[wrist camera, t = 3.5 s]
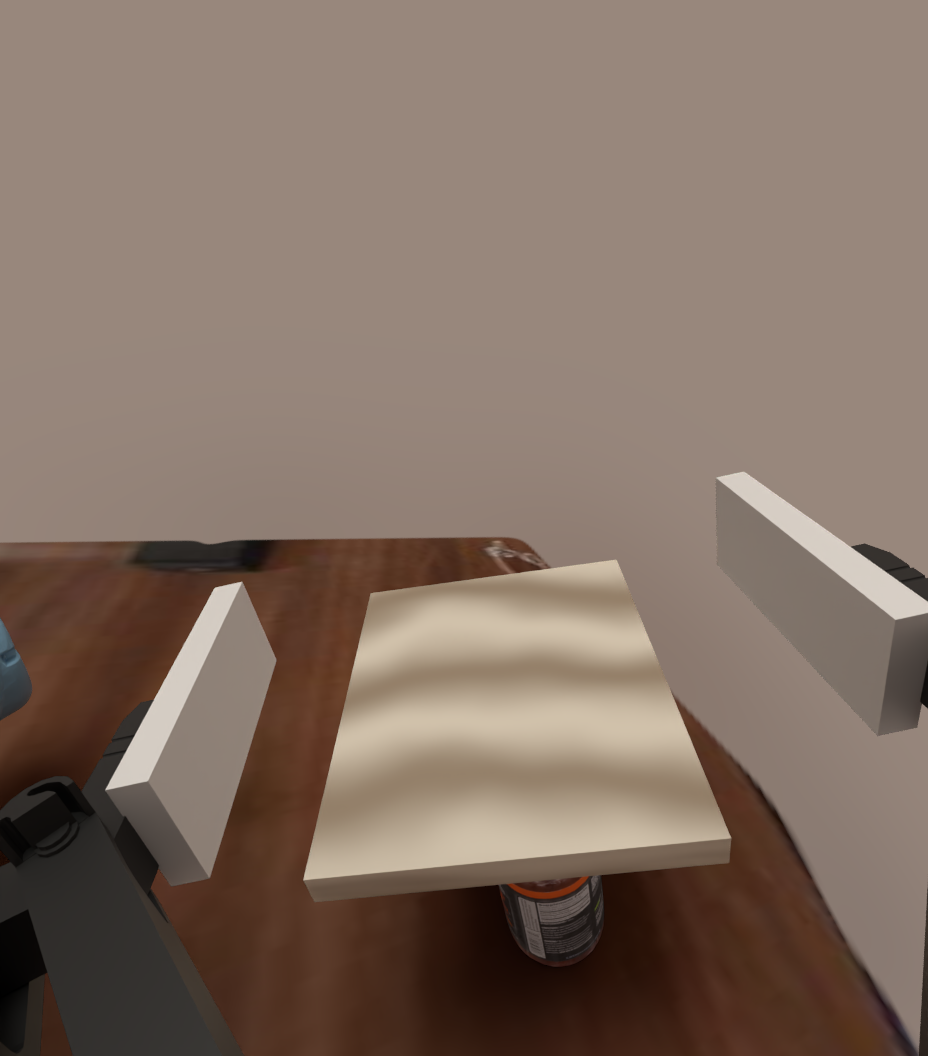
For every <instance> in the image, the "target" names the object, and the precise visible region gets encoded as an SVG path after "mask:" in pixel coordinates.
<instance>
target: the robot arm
mask: <svg viewBox="0 0 928 1056" xmlns="http://www.w3.org/2000/svg"><path fill="white" fill-rule="evenodd" d="M716 524H717V525H716V527H717V528H716V529H717V565H718V566H719V567H720V568H721V569H722V570H723V571H724V572H725V574H727V576H728V577H729V578H730V579H731V580H732V581H733V582H734V583H735V584H736V585H737V586H738V587H739V588H740V590H741V591H742V592H743V593H744V594H745V595H746V596H747V597H748V598H749V599H750V600H751V601H752V602H753V603H754V605H756V607H757V608H758V609H759V610H760V611H761V612H762V613H763V614H764V615H765V616H766V617H767V618H768V619H769V621H770V622H771V623H772V624H773V625H774V626H775V627H776V628H777V629H778V630H779V631H780V632H781V633H782V634H783V635H784V637H785V638H786V639H787V640H788V641H789V642H790V643H791V644H792V645H793V646H794V647H795V648H796V649H797V650H798V652H800V654H801V655H802V656H803V657H804V658H805V659H806V660H807V661H808V662H809V663H810V664H811V665H812V666H813V667H814V669H815V670H816V671H817V672H818V673H819V674H820V675H821V676H822V677H823V678H824V679H825V680H826V681H827V683H828V684H829V685H830V686H831V687H832V688H833V689H834V690H835V691H836V692H837V693H838V694H839V695H840V696H841V697H842V698H843V700H844V701H845V702H846V703H847V704H848V705H849V706H850V707H851V708H852V709H853V710H854V711H855V712H856V713H857V714H858V715H859V717H860V718H861V719H862V720H863V721H864V722H865V723H866V724H867V725H868V726H869V727H870V728H871V730H872V731H873V732H874V733H876V735H877V736H880V735H884V734H889V733H893V732H898V731H903V730H908V729H913V728H917V725H918V720H919V715H920V710H921V705H922V704H923V705H925V706H926V707H927V708H928V578H925V575H923V574H922V573H920V572H919V571H917V570H916V569H914V568H910V567H909V565H908V564H907V563H905V562H904V561H902V560H901V559H899V558H897V557H896V556H894V555H893V554H892V553H890V552H887V551H884V550H881V549H878V548H875V547H873V546H870V545H867V544H861V545H856V546H852V547H850V546H848V545H847V544H845V543H844V542H843V541H841V540H840V539H838V538H837V537H836V536H834V535H833V534H831V533H830V532H828V531H827V530H826V529H824V528H823V527H821V526H820V525H818V524H817V523H816V522H814V521H813V520H812V519H810V518H809V517H807V516H806V515H805V514H803V513H802V512H800V511H799V510H797V509H796V508H794V507H793V506H792V505H790V504H789V503H788V502H786V501H785V500H783V499H782V498H780V497H779V496H778V495H776V494H775V493H773V492H772V491H771V490H769V489H768V488H766V487H765V486H763V485H762V484H761V483H759V482H758V481H756V480H755V479H753V478H752V477H751V476H749V475H748V474H747V473H745V472H741V473H736V474H731V475H726V476H722V477H717V478H716ZM275 663H276V658H275V656H274V653H273V651H272V649H271V647H270V644H269V642H268V640H267V637H266V635H265V633H264V630H263V628H262V626H261V624H260V621H259V619H258V617H257V614H256V612H255V610H254V608H253V605H252V603H251V601H250V598H249V596H248V594H247V592H246V589H245V587H244V585H243V582H239V583H235V584H230V585H225V586H221V587H216V588H215V589H214V590H213V592H212V594H211V596H210V598H209V600H208V602H207V603H206V605H205V607H204V609H203V611H202V613H201V614H200V616H199V618H198V620H197V622H196V624H195V625H194V627H193V629H192V631H191V633H190V635H189V637H188V638H187V640H186V642H185V644H184V646H183V648H182V649H181V651H180V653H179V655H178V657H177V659H176V660H175V662H174V664H173V666H172V668H171V670H170V672H169V673H168V675H167V677H166V679H165V681H164V683H163V684H162V686H161V688H160V690H159V692H158V694H157V696H156V697H155V699H154V700H150V701H146V702H141V703H140V704H139V705H138V706H137V707H136V708H135V709H134V710H133V711H132V712H131V713H130V714H129V715H128V716H127V717H126V718H125V719H124V720H123V721H122V723H121V724H120V726H119V728H118V730H117V731H116V733H115V735H114V736H113V738H112V743H109V745H108V747H107V748H106V750H105V752H104V754H103V758H102V759H100V760H99V762H98V764H97V766H96V767H95V769H94V771H93V772H92V774H91V776H90V778H89V779H88V781H87V783H86V784H85V786H84V788H83V790H82V791H80V789H79V788H78V786H77V785H76V784H75V782H74V781H73V780H71V779H70V778H69V777H67V776H55V777H52V778H48V779H45V780H41V781H40V782H38V783H36V784H34V785H32V786H30V787H28V788H26V789H25V790H23V791H22V792H21V793H19V794H18V795H17V796H15V797H14V798H12V799H11V800H10V801H9V802H8V803H7V804H6V805H5V806H4V807H3V808H2V809H1V810H0V850H1V851H2V852H3V854H4V855H5V856H6V857H7V858H8V859H9V861H10V863H8V864H5V865H3V866H1V867H0V1056H40V1049H41V1032H42V1014H43V997H44V980H45V973H48V976H49V979H50V982H51V986H52V989H53V992H54V995H55V999H56V1002H57V1005H58V1009H59V1012H60V1015H61V1018H62V1022H63V1025H64V1028H65V1032H66V1035H67V1038H68V1041H69V1045H70V1048H71V1051H72V1055H73V1056H244V1055H243V1053H242V1051H241V1049H240V1047H239V1046H238V1044H237V1042H236V1040H235V1038H234V1037H233V1035H232V1033H231V1031H230V1029H229V1027H228V1026H227V1024H226V1022H225V1020H224V1018H223V1017H222V1015H221V1013H220V1011H219V1009H218V1007H217V1006H216V1004H215V1002H214V1000H213V998H212V997H211V995H210V993H209V991H208V989H207V987H206V986H205V984H204V982H203V980H202V978H201V977H200V975H199V973H198V971H197V969H196V967H195V966H194V964H193V962H192V960H191V958H190V957H189V955H188V953H187V951H186V949H185V947H184V946H183V944H182V942H181V940H180V938H179V937H178V935H177V933H176V931H175V929H174V927H173V926H172V924H171V922H170V920H169V918H168V917H167V915H166V913H165V911H164V909H163V907H162V906H161V904H160V902H159V900H158V898H157V897H156V895H155V894H154V893H153V891H152V890H151V886H152V883H153V880H154V878H155V875H156V873H157V870H158V868H159V869H160V871H161V872H162V874H163V875H164V877H165V878H166V880H167V881H168V883H169V884H170V885H171V886H176V885H181V884H186V883H190V882H195V881H200V880H204V879H209V878H210V876H211V872H212V869H213V866H214V862H215V859H216V856H217V853H218V849H219V846H220V843H221V840H222V836H223V833H224V830H225V827H226V823H227V820H228V817H229V814H230V810H231V807H232V804H233V800H234V797H235V794H236V791H237V787H238V784H239V781H240V778H241V774H242V771H243V768H244V765H245V761H246V758H247V755H248V751H249V748H250V745H251V742H252V738H253V735H254V732H255V729H256V725H257V722H258V719H259V716H260V712H261V709H262V706H263V703H264V699H265V696H266V693H267V689H268V686H269V683H270V680H271V676H272V673H273V670H274V667H275ZM31 693H32V684H31V680H30V677H29V675H28V672H27V670H26V668H25V665H24V663H23V661H22V659H21V657H20V655H19V654H18V652H17V651H16V650H15V649H14V644H13V642H12V640H11V637H10V635H9V633H8V631H7V629H6V628H5V626H4V624H3V622H2V620H1V618H0V720H2V719H3V718H5V717H7V716H9V715H10V714H12V713H14V712H15V711H17V710H19V709H20V708H22V707H23V706H24V705H25V704H26V703H27V701H28V700H29V698H30V696H31ZM927 891H928V890H927ZM925 931H926V932H925V949H924V968H923V988H922V1007H921V1026H920V1045H919V1056H928V892H927V910H926V929H925Z"/></svg>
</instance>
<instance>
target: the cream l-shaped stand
mask: <svg viewBox="0 0 928 1056" xmlns="http://www.w3.org/2000/svg"><path fill="white" fill-rule="evenodd" d="M730 845H731V837H730V834H729V832H728V830H727V827H726V825H725V822H724V820H723V817H722V815H721V813H720V810H719V808H718V805H717V803H716V800H715V798H714V796H713V793H712V791H711V788H710V786H709V783H708V781H707V779H706V776H705V774H704V771H703V769H702V766H701V764H700V762H699V759H698V757H697V754H696V752H695V749H694V747H693V745H692V742H691V740H690V737H689V735H688V732H687V730H686V728H685V725H684V723H683V720H682V718H681V715H680V713H679V711H678V708H677V706H676V703H675V701H674V698H673V696H672V694H671V691H670V689H669V686H668V684H667V681H666V679H665V677H664V674H663V672H662V669H661V667H660V664H659V662H658V660H657V657H656V655H655V652H654V650H653V647H652V645H651V643H650V640H649V638H648V635H647V633H646V630H645V628H644V626H643V624H642V621H641V619H640V616H639V613H638V611H637V609H636V606H635V604H634V601H633V599H632V596H631V594H630V592H629V589H628V587H627V584H626V582H625V579H624V577H623V575H622V572H621V570H620V567H619V565H618V562H617V560H612V561H603V562H596V563H589V564H582V565H574V566H568V567H560V568H552V569H545V570H538V571H530V572H523V573H516V574H509V575H501V576H494V577H487V578H479V579H472V580H465V581H457V582H450V583H443V584H436V585H428V586H421V587H414V588H406V589H399V590H392V591H385V592H377V593H371V595H370V599H369V603H368V608H367V612H366V616H365V620H364V625H363V629H362V633H361V637H360V642H359V646H358V650H357V654H356V659H355V663H354V667H353V671H352V676H351V680H350V684H349V688H348V693H347V697H346V701H345V705H344V710H343V714H342V718H341V722H340V727H339V731H338V735H337V739H336V744H335V748H334V752H333V756H332V761H331V765H330V769H329V773H328V778H327V782H326V786H325V790H324V795H323V799H322V803H321V807H320V812H319V816H318V820H317V824H316V829H315V833H314V837H313V841H312V846H311V850H310V854H309V858H308V863H307V867H306V871H305V875H304V882H305V884H306V886H307V888H308V890H309V892H310V894H311V896H312V898H313V900H314V902H321V901H332V900H342V899H353V898H364V897H374V896H385V895H395V894H406V893H416V892H427V891H437V890H448V889H459V888H469V887H480V886H490V885H501V884H511V883H522V882H533V881H543V880H554V879H564V878H575V877H585V876H596V875H606V874H617V873H628V872H638V871H649V870H659V869H670V868H680V867H691V866H702V865H712V864H723V863H729V858H730Z"/></svg>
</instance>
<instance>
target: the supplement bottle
mask: <svg viewBox="0 0 928 1056" xmlns="http://www.w3.org/2000/svg"><path fill="white" fill-rule="evenodd" d="M499 889H500V894H501V897H502V902H503V906H504V910H505V915H506V919H507V922H508V926H509V928H510V931H511V933H512V936H513V938H514V940H515V941H516V943H517V944H518V946H519V947H520V948H521V950H522V951H523V952H524V953H525V954H526V955H528V956H529V957H530V958H532V959H533V960H536V961H537V962H539V963H542V964H544V965H548V966H553V967H562V966H569V965H572V964H575V963H577V962H579V961H581V960H583V959H584V958H585V957H587V956H588V955H589V954H590V953H591V952H592V951H593V950H594V948H595V946H596V945H597V943H598V941H599V939H600V937H601V934H602V930H603V926H604V900H603V890H602V879H601V875H596V876H585V877H575V878H564V879H554V880H543V881H533V882H522V883H511V884H501V885H499Z"/></svg>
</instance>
